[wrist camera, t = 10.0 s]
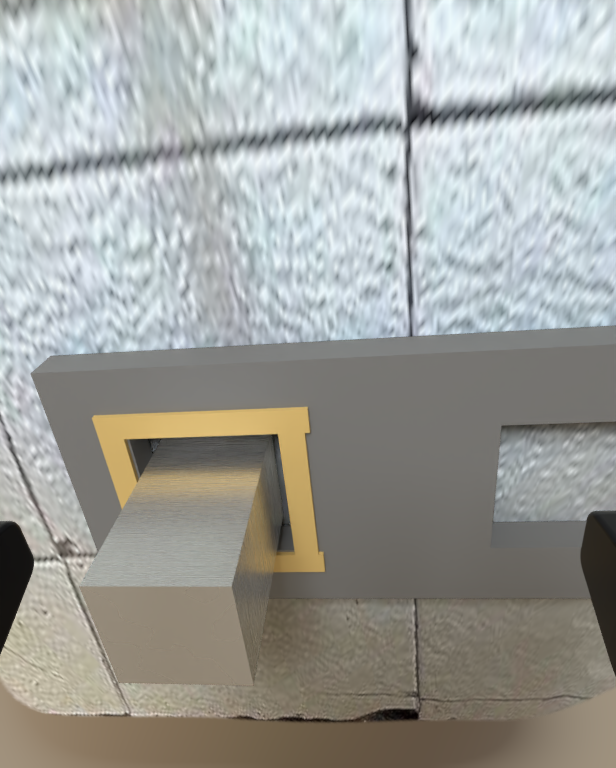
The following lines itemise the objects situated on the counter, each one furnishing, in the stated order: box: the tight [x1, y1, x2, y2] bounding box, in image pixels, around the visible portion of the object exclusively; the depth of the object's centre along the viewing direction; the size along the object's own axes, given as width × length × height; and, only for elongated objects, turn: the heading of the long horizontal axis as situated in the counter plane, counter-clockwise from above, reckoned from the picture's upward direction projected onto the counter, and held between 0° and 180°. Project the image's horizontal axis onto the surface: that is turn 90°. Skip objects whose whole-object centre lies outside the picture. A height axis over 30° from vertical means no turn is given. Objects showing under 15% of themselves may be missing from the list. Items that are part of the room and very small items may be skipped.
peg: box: [79, 434, 283, 686], centre depth 20 cm, size 4×4×8 cm
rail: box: [31, 326, 616, 598], centre depth 22 cm, size 26×12×2 cm, turn 95°
